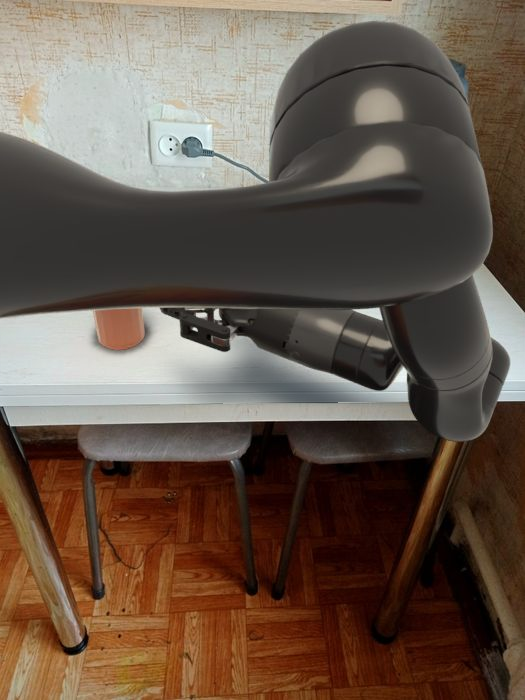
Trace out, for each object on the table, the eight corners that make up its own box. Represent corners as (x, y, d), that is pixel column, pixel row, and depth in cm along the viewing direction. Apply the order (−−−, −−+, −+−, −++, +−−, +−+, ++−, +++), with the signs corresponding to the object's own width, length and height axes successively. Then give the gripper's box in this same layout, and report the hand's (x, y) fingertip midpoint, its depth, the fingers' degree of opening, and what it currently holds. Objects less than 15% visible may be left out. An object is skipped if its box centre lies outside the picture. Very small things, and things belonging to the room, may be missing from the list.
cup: (108, 355, 69) (98, 300, 63) (91, 330, 73) (81, 276, 67) (152, 340, 72) (146, 286, 66) (134, 317, 76) (127, 264, 70)
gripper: (336, 270, 57) (215, 232, 63) (277, 335, 47) (140, 284, 53) (328, 323, 62) (216, 284, 68) (272, 393, 52) (147, 340, 58)
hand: (183, 284), depth 60 cm, fingers open, 8 cm apart
